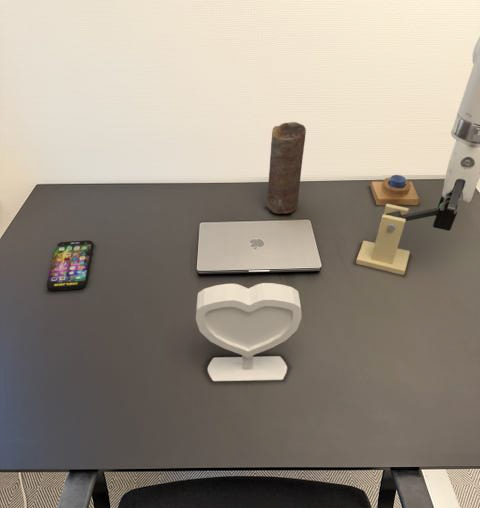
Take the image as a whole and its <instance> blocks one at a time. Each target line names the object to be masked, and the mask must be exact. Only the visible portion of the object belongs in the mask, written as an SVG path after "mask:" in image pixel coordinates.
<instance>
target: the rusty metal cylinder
mask: <svg viewBox="0 0 480 508" xmlns="http://www.w3.org/2000/svg"><path fill="white" fill-rule="evenodd" d="M306 129H307V128H306V127H305V125H304V124H302V123H299V122H296V121H289V122H283V123H281V124H279V125H275V126H273V128H272V130H271V141H270V157H269V170H268V171H269V172H268V184H267V195H266V207H267V208H268V209H269V210H270V211H271V212H272V213H273V214H278V215H280V214H290V213H291V214H292V213H293V212H295V210H296V209H297V208H298V202H299V195H300V186H301V175H302V167H303V159H304V150H305V142H306V133H307V130H306Z"/></svg>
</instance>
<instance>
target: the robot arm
mask: <svg viewBox="0 0 480 508" xmlns="http://www.w3.org/2000/svg"><path fill="white" fill-rule="evenodd" d="M472 64H473V65H472V68H471V71H470V74H469V77H468V80H467V83H466V87H465V89H464V92H463V96H462V98H461V100H460V104H459V107H458V110H457V112H456V116H455V119H454V122H453V124H452V128H451V131H450V135H451V137H452V138H453V139H454V140H455V143H454V144H453V148H452V151H451V154H450V157H449V160H448V165H447V168H446V171H445V176H444V181H443V186H442V192H441V197H440V200H439V202H438V205H437V208H438V207H439V206H440V204H441V203H442V202H443V203H442V206H441V208H439V210H438V212H437V215H435V218H434V221H433V224H432V227H433V228H434V229H439V230H443V231H451V229H452V228H453V226H454V225H453V224H454V222H455V219H456V218H457V214H458V209H459V207H460V205H461V202H462V201H463V202H464V203H466V204H468V203H471V201H472V199H473V197H474V193H475V191H476V189H477V185H478V183H479V180H480V36H479V37H478V39H477V41H476V43H475V45H474V48H473V51H472ZM447 200H450V201H449V202H447ZM446 202H447V203H446Z"/></svg>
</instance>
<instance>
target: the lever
mask: <svg viewBox="0 0 480 508" xmlns="http://www.w3.org/2000/svg"><path fill="white" fill-rule="evenodd" d="M449 201H450V200H447V202H449ZM447 202H446V203H447ZM442 203H443V202H442ZM442 203H441V204H440V206H439V207H438V206H437V207H434V208H428V209H425V210H420V211H419V210H418V211H415V212H408V214H404V215H401V212H400V211H396V212H392V213H387V214H386V215H389V216H394V217H399V218H403V219H406V221H405V222H409V221H414V220H419V219H424V218H430V217H436V215H437V212H438V210H439V208H441V206H442Z"/></svg>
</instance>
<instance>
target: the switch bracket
mask: <svg viewBox="0 0 480 508" xmlns="http://www.w3.org/2000/svg"><path fill="white" fill-rule="evenodd" d="M384 207H385V208H384V211H383V214H382V216H381V219H380V224H379V226H378V231H377V234H376V239H375V242H373V241H367V240H363V241H362V244H361V246H360V249H359V252H358V254H357V257H356V260H355V264H356V265H360V266H363V267H364V266H365V267H368V268H372V269H377V270H380V271H384V272H389V273H392V274H396V275H401V276H404V275H405V273H406V269H407V265H408V261H409V257H410V253H411V251H410V250H406V249H403V248H399V243H400V242H401V241H400V240H401V237H402V235H403V230H404V227H405V224H406V222H407V221H406V219H403V218H399V217H394V216H389V215H386V214H387V213H392V212H396V211H400V212H401V215H404V214H409V210H410V207H405V206H401V205H391V204H386V205H385V206H384Z"/></svg>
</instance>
